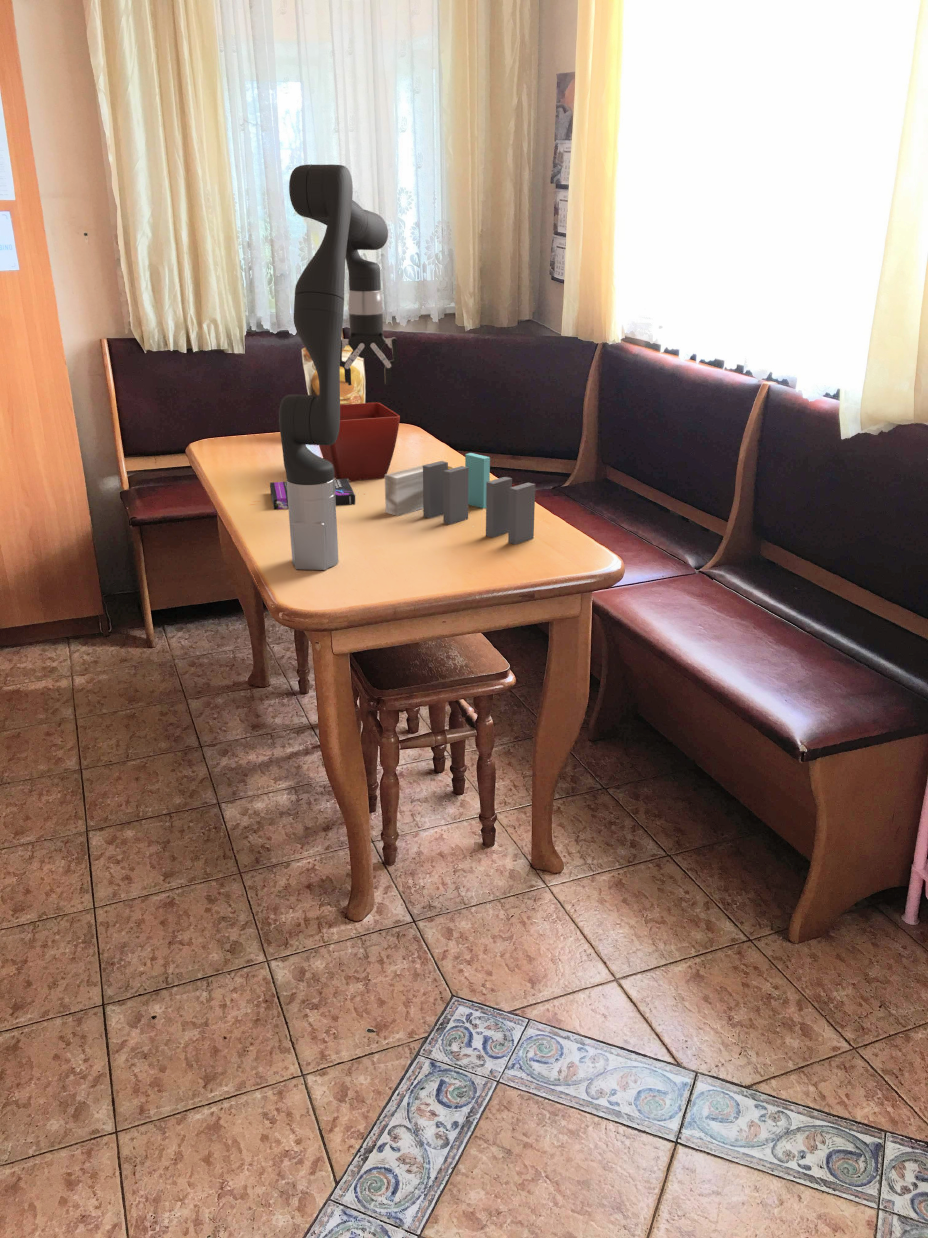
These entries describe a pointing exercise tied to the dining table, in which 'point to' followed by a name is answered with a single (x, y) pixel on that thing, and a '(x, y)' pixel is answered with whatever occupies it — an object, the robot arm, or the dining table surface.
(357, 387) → the pancake mix bag
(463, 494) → the domino
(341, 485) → the box
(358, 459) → the plant pot
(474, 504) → the domino
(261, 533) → the dining table surface
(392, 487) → the block
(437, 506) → the domino
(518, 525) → the domino
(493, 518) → the domino
